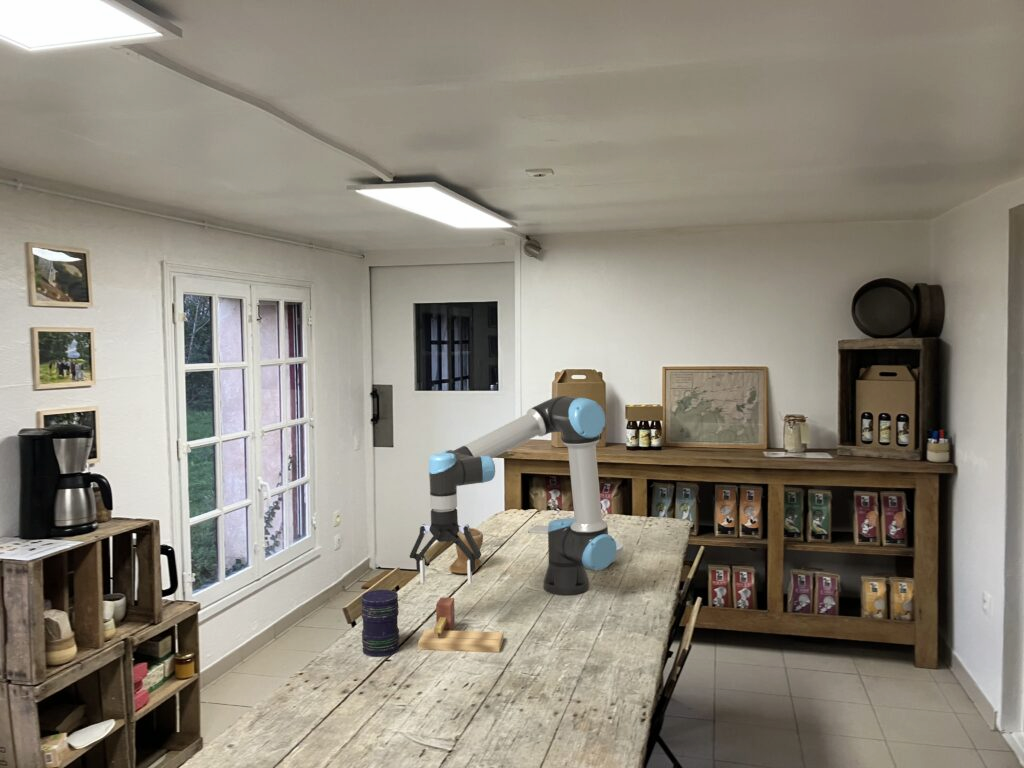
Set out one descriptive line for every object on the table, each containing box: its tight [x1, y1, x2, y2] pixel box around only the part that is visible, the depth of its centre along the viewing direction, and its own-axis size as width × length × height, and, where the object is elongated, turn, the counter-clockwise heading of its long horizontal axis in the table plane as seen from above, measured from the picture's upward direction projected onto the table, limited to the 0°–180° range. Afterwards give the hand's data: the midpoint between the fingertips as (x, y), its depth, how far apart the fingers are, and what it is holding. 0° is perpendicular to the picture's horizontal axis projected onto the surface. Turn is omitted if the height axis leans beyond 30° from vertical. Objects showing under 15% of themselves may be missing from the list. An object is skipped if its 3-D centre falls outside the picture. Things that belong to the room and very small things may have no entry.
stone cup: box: [448, 527, 484, 575], centre depth 285 cm, size 15×12×15 cm
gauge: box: [433, 597, 456, 637], centre depth 222 cm, size 4×14×9 cm, turn 173°
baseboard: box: [527, 522, 549, 535], centre depth 336 cm, size 31×3×12 cm
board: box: [417, 629, 504, 653], centre depth 218 cm, size 22×9×2 cm, turn 83°
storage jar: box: [360, 589, 400, 658], centre depth 214 cm, size 10×10×15 cm
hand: (446, 582), depth 226 cm, fingers open, 13 cm apart
